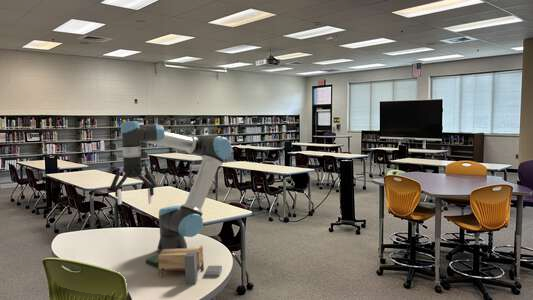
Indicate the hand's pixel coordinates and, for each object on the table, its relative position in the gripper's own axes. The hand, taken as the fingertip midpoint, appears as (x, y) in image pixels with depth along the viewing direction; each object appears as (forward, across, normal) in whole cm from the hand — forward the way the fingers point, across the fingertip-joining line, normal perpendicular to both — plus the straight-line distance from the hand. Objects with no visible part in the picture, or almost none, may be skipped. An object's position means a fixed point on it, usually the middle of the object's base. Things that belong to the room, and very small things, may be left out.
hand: (135, 203), depth 174 cm
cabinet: (+32, +20, -3) cm, 38 cm away
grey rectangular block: (+32, +26, -9) cm, 42 cm away
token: (+32, +34, -4) cm, 47 cm away
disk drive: (+32, +8, +9) cm, 35 cm away
